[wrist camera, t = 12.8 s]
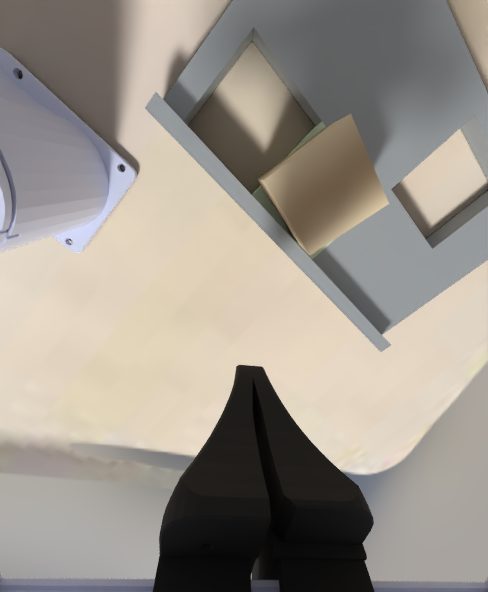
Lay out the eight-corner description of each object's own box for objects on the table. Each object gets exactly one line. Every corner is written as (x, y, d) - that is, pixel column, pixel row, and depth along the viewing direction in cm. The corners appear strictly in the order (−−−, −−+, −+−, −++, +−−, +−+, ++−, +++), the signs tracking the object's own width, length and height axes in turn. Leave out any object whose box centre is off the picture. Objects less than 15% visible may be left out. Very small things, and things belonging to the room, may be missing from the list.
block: (257, 179, 17) (263, 180, 13) (323, 128, 16) (350, 113, 12) (295, 240, 19) (309, 255, 15) (357, 198, 17) (389, 203, 14)
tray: (159, 119, 16) (144, 108, 14) (348, -145, 12) (380, -238, 9) (364, 332, 24) (380, 352, 21) (523, 216, 20) (569, 222, 17)
